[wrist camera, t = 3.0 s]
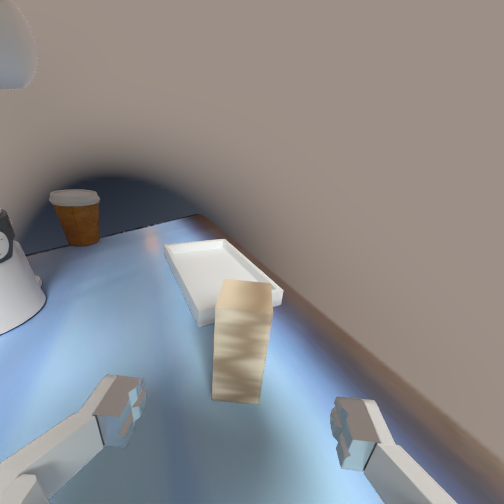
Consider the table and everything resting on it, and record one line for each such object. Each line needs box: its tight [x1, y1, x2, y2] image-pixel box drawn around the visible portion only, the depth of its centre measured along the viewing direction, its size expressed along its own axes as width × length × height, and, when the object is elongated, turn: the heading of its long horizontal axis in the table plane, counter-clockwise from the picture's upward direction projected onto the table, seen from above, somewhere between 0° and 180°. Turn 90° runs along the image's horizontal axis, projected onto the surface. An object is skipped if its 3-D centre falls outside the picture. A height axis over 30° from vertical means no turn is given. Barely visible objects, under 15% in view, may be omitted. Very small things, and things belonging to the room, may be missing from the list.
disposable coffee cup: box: [49, 190, 100, 246], centre depth 56 cm, size 10×10×12 cm
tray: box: [164, 239, 283, 328], centre depth 48 cm, size 26×15×3 cm, turn 29°
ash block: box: [212, 279, 273, 405], centre depth 25 cm, size 5×5×12 cm
